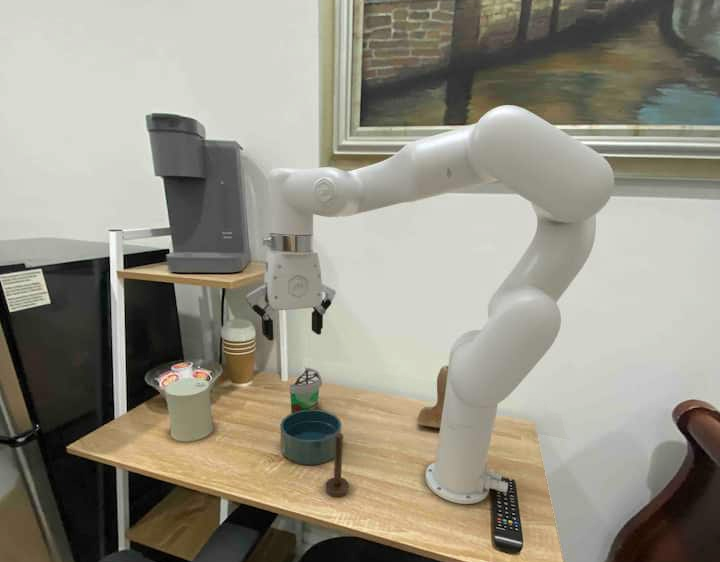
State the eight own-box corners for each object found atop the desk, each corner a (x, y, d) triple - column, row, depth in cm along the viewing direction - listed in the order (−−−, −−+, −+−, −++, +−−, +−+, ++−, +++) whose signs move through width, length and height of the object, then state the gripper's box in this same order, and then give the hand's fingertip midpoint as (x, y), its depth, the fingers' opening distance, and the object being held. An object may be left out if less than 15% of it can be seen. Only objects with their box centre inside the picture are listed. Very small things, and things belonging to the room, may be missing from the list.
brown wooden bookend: (473, 414, 105) (482, 363, 100) (479, 438, 94) (490, 382, 89) (417, 408, 107) (423, 357, 102) (416, 430, 96) (423, 375, 91)
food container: (313, 425, 96) (313, 388, 92) (289, 421, 97) (289, 385, 93) (327, 402, 107) (328, 369, 104) (305, 399, 108) (306, 366, 105)
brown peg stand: (352, 485, 76) (354, 431, 72) (342, 500, 72) (345, 444, 68) (331, 479, 77) (333, 426, 73) (321, 493, 74) (322, 438, 69)
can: (213, 438, 89) (209, 390, 84) (169, 444, 85) (162, 395, 81) (213, 418, 97) (209, 374, 92) (172, 423, 94) (166, 377, 89)
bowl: (349, 440, 91) (350, 417, 89) (324, 472, 79) (324, 447, 77) (299, 426, 95) (299, 404, 93) (269, 456, 84) (268, 431, 81)
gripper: (249, 247, 62) (254, 347, 68) (344, 246, 71) (341, 336, 77) (237, 242, 68) (243, 335, 74) (327, 242, 77) (325, 325, 83)
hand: (293, 335), depth 76 cm, fingers open, 9 cm apart
